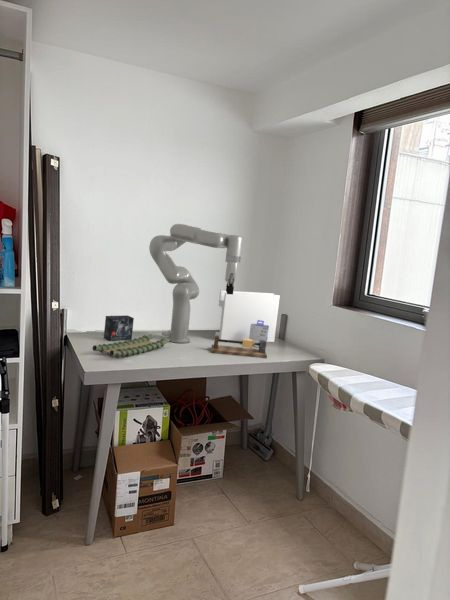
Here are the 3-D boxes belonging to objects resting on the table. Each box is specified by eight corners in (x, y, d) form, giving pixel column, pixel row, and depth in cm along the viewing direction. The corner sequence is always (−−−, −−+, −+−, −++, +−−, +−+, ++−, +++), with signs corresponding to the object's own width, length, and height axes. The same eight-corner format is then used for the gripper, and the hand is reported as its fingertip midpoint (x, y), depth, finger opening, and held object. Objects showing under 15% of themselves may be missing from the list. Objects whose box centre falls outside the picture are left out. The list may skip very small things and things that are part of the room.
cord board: (211, 352, 234) (213, 338, 233) (211, 347, 246) (212, 333, 245) (266, 358, 236) (268, 343, 235) (263, 352, 248) (265, 338, 247)
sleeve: (242, 346, 239) (243, 340, 238) (241, 345, 242) (242, 338, 242) (251, 347, 239) (252, 340, 239) (251, 346, 243) (252, 339, 242)
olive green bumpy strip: (113, 362, 201) (114, 351, 201) (90, 355, 208) (90, 344, 208) (170, 348, 237) (171, 338, 236) (148, 342, 244) (148, 333, 243)
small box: (109, 341, 235) (111, 318, 233) (103, 338, 240) (104, 315, 238) (132, 340, 244) (134, 317, 242) (125, 336, 249) (127, 315, 247)
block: (220, 341, 262) (226, 292, 258) (215, 338, 269) (220, 290, 265) (274, 341, 277) (280, 295, 273) (267, 338, 284) (273, 293, 280)
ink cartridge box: (266, 346, 262) (269, 321, 260) (265, 348, 257) (268, 322, 255) (249, 343, 264) (252, 318, 262) (248, 345, 259) (251, 320, 257)
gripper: (225, 258, 245) (221, 290, 247) (226, 259, 227) (222, 294, 230) (239, 259, 245) (235, 291, 247) (241, 261, 228) (237, 295, 230)
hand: (229, 292), depth 238 cm, fingers open, 9 cm apart
